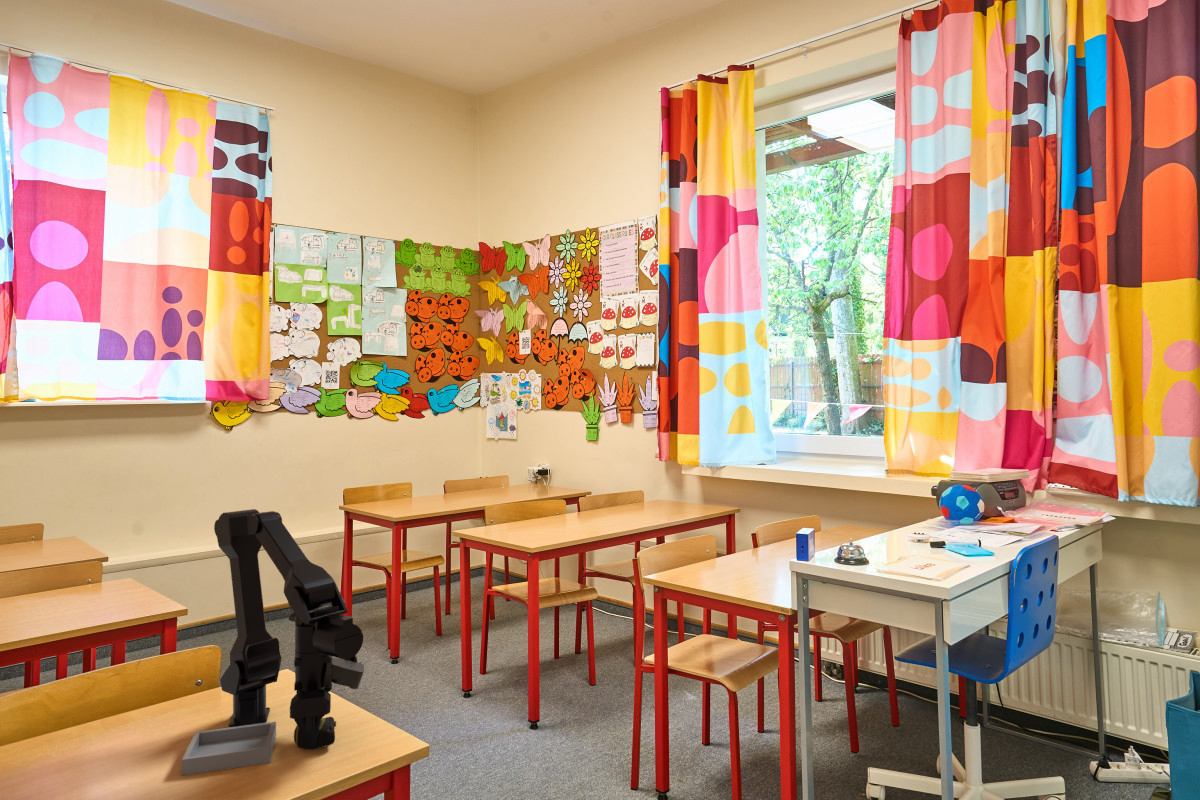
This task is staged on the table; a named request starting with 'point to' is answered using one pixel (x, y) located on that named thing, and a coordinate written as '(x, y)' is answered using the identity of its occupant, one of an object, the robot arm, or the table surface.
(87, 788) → the table surface
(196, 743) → the tray
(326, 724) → the tape measure
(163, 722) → the table surface
